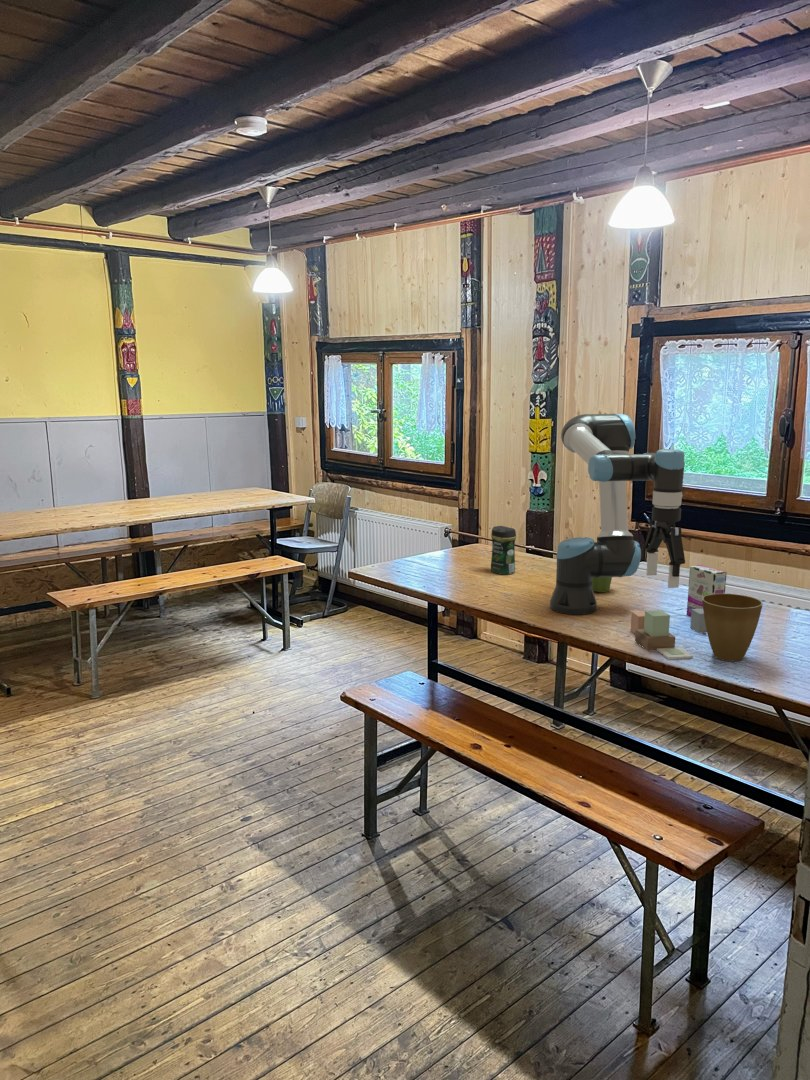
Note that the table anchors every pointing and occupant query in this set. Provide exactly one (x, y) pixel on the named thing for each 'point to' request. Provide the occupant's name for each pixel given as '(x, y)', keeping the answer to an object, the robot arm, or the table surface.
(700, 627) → the slate block
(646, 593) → the table surface
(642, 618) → the terracotta block
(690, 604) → the candy bar box
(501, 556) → the coffee jar
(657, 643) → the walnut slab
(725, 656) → the plant pot
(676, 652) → the tile
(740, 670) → the table surface
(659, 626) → the sage block
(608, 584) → the plant pot
